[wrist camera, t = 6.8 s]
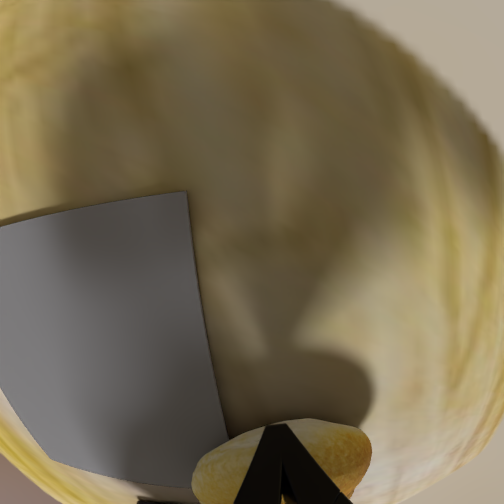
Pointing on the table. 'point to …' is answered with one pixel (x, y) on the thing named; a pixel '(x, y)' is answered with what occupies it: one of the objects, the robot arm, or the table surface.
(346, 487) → the bread roll
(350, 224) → the table surface
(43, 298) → the serving mat
